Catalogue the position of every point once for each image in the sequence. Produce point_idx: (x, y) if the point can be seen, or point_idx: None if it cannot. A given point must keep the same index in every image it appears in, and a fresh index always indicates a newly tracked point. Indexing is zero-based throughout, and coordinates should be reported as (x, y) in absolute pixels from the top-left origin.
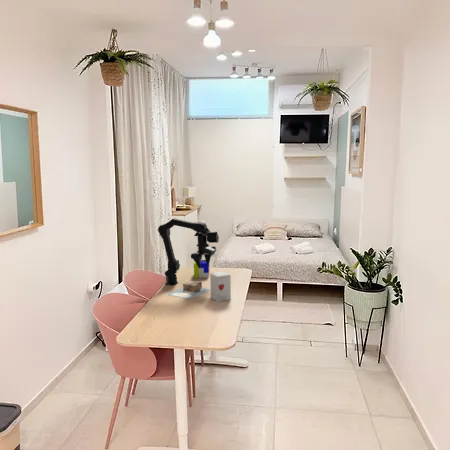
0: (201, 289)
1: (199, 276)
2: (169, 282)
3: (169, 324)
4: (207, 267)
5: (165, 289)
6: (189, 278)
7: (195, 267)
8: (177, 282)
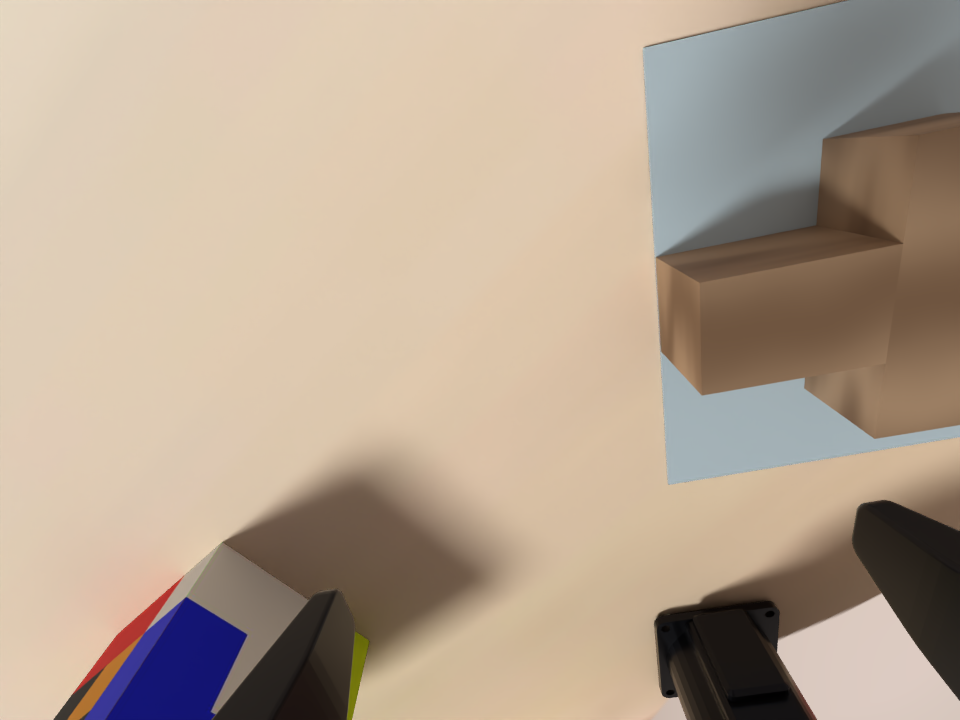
0: (740, 186)
1: None
2: (779, 657)
3: None
4: (143, 691)
5: None
6: (432, 649)
7: None
8: (671, 623)
